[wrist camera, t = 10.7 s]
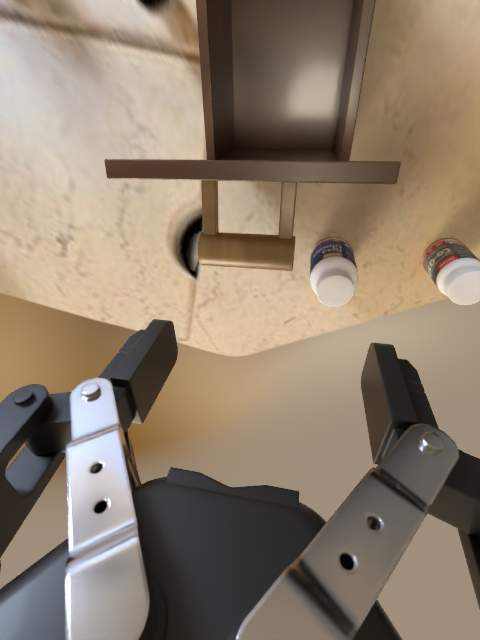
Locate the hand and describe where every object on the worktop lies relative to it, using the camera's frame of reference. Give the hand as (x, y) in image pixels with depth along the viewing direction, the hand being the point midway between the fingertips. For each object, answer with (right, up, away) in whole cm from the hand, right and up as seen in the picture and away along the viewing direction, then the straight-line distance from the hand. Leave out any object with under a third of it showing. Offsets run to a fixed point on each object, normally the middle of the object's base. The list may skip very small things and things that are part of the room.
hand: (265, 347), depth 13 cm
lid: (+1, +11, +8) cm, 14 cm away
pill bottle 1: (+11, +10, +29) cm, 33 cm away
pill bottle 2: (+24, +9, +26) cm, 37 cm away
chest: (+4, +26, +19) cm, 33 cm away
